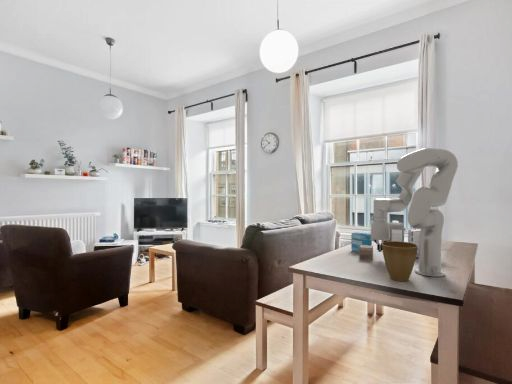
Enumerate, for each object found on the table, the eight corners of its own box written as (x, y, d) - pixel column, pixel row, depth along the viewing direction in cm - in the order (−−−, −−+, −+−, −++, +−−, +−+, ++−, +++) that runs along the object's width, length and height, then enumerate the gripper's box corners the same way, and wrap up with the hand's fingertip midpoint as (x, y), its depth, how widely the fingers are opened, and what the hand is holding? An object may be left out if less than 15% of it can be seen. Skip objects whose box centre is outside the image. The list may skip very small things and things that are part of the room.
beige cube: (372, 260, 170) (372, 248, 170) (359, 259, 173) (359, 247, 173) (372, 257, 177) (372, 245, 176) (360, 256, 179) (360, 244, 179)
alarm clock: (404, 255, 182) (404, 222, 182) (389, 254, 185) (389, 222, 185) (400, 249, 199) (400, 219, 199) (386, 248, 202) (386, 219, 202)
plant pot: (383, 272, 146) (383, 240, 145) (418, 277, 138) (418, 243, 138) (378, 280, 133) (379, 245, 133) (416, 286, 125) (416, 248, 125)
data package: (351, 250, 196) (351, 232, 196) (354, 249, 199) (355, 231, 199) (368, 253, 187) (368, 234, 187) (371, 252, 190) (372, 234, 190)
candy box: (431, 256, 179) (431, 229, 178) (436, 259, 173) (436, 231, 173) (407, 256, 180) (407, 229, 180) (411, 258, 174) (411, 230, 174)
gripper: (366, 219, 171) (365, 251, 171) (394, 221, 165) (394, 254, 165) (366, 218, 178) (366, 249, 178) (394, 219, 172) (394, 251, 172)
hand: (379, 251), depth 172 cm, fingers closed
